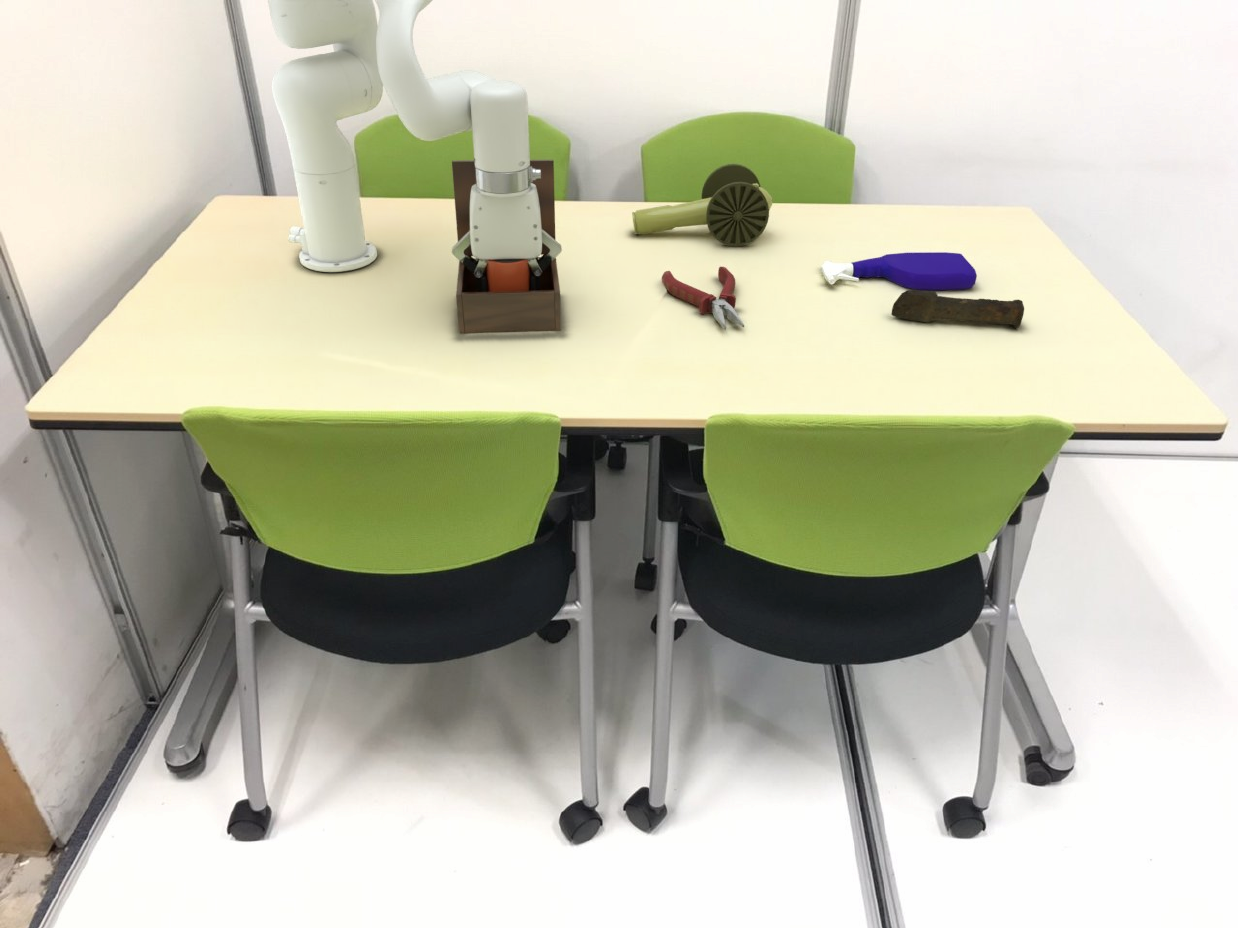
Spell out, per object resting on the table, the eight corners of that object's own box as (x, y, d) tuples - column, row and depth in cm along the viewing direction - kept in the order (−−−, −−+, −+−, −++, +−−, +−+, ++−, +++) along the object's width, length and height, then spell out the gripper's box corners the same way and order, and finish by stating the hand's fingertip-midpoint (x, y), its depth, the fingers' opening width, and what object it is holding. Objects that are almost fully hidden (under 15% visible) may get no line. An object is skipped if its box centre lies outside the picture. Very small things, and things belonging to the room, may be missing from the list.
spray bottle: (960, 249, 158) (817, 250, 157) (983, 275, 149) (831, 276, 148) (956, 266, 160) (814, 267, 159) (978, 292, 151) (828, 294, 150)
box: (560, 335, 135) (560, 292, 131) (459, 338, 134) (455, 294, 130) (556, 297, 146) (555, 256, 142) (462, 299, 144) (459, 258, 141)
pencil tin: (481, 317, 138) (477, 260, 132) (499, 300, 143) (496, 244, 138) (521, 324, 136) (519, 266, 131) (538, 306, 141) (536, 250, 136)
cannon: (632, 246, 164) (633, 182, 158) (630, 222, 174) (632, 161, 167) (772, 248, 165) (780, 184, 158) (763, 224, 174) (770, 163, 168)
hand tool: (1014, 320, 143) (1022, 292, 140) (1020, 331, 139) (1028, 303, 137) (889, 310, 145) (894, 282, 142) (891, 321, 141) (897, 293, 139)
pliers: (697, 338, 135) (698, 322, 134) (659, 283, 151) (659, 268, 150) (770, 331, 138) (772, 315, 136) (725, 278, 154) (727, 263, 152)
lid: (553, 160, 135) (552, 153, 139) (451, 161, 133) (453, 154, 138) (555, 254, 141) (554, 244, 146) (458, 256, 140) (460, 246, 144)
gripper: (564, 169, 132) (566, 286, 142) (441, 171, 130) (451, 289, 140) (567, 186, 126) (569, 307, 136) (438, 188, 124) (449, 311, 134)
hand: (509, 297), depth 138 cm, fingers closed on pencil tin, 6 cm apart
